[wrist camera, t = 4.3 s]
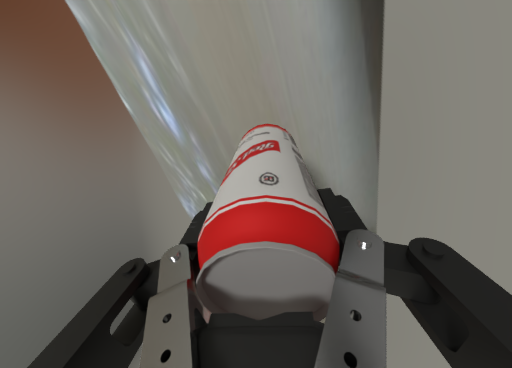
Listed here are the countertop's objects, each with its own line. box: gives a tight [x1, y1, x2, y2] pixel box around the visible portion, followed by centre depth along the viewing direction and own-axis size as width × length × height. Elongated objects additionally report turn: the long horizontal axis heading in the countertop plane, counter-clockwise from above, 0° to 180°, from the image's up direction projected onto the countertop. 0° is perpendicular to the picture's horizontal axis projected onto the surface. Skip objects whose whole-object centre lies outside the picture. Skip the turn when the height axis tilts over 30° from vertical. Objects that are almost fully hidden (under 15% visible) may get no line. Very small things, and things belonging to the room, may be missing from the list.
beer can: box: [196, 124, 340, 321], centre depth 13 cm, size 6×6×16 cm
